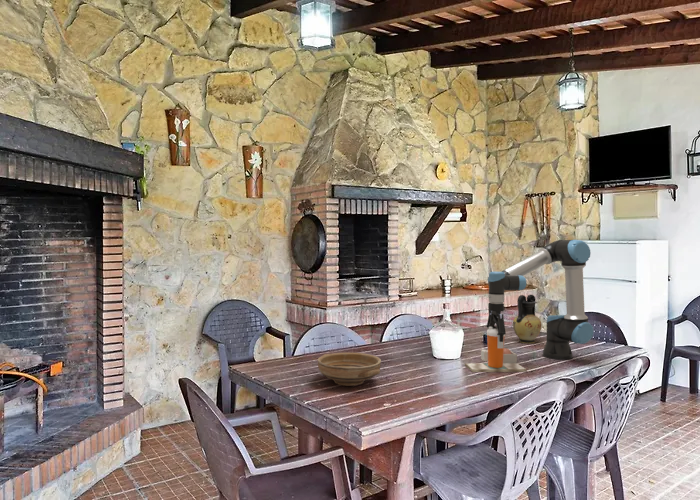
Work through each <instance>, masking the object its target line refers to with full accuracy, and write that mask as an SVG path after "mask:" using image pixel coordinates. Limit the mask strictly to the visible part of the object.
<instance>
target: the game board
mask: <svg viewBox="0 0 700 500" xmlns="http://www.w3.org/2000/svg"><path fill="white" fill-rule="evenodd" d="M464 366H465V367H466V368H467V369H468V370H469V371H470V370H471V371H470V372H472V373H524V372H525V373H526V372H528V371H527V368H526V367H524V366H522V365H521V364H519V363H518V362H517V363H503V367H501V368H493V367H489V366H488V362H486V363H479V362H478V363H477V362H476V363H470V362H469V363H466V362H465V363H464Z"/></svg>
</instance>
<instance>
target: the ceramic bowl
mask: <svg viewBox="0 0 700 500" xmlns="http://www.w3.org/2000/svg"><path fill="white" fill-rule="evenodd" d="M316 360H317V366H318V370H319V372H320V373H321V375H323V376H324V377H326V378H327V379H329V380H333V382H334V383H335V384H337V385H339V386H345V387H347V386H349V387H350V386H351V387H352V386H353V387H355V386H359V385H362V384H364V381H368V380H370V379H372V378H374V377H375V376H377V375H379V374H380V373H381V370H380V369H381V366H382V365H381V362H382V359H381V358H380V357H379V356H376V355H373V354H369V353H364V352H334V353H333V352H332V353H324V354H322V355H321V356H319V357H318V358H317V359H316Z"/></svg>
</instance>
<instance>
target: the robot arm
mask: <svg viewBox="0 0 700 500" xmlns="http://www.w3.org/2000/svg"><path fill="white" fill-rule="evenodd" d="M590 257H591V249H590V246H589V245H588V243H587V242H585V241H583V240H580V239H558V240H555V241H551V242H549V243H548V244H545V245H544V246H543V247H541V248H539V249H538V251H537V252H534V253H533V254H531V255H530V256H528V257H526V258H524V259H522V260H520V261H518V262H516V263H514V264H513V265H511V266H509V267H507V268H505V269H503V270H501V271H490V272H489V273H488V278H487V282H488V296H487V298H488V305H487V306H488V307H487V308H488V309H487V310H488V317H487V323H486V328H487V330H488V329H489V326H490V325H492V326H497V330H498V334H497V335H498V346H497V348H505V340H504V334H505V335H506V333H507V332H506V326H505V320H504V319H505V318H504V317H505V316H504V313H501V312H504V311H505V292H506V291H523V290H525V289H526V287H527V278H526V277H525V276H526V275H527V274H529V273H532V272H533V271H535V270H537V269H539V268H540V267H542V266H544V265H550V264H552V263H555V262H561V267H562V268H563V269H564V278H565V281H564V282H565V300H566V301H565V303H566V305H565V306H566V314H555V315H553V314H552V315H548V316H547V318H546V341H545V344H544V348H543V351H542V356H543V357H544V358H548V359H554V360H562V361H563V360H564V361H565V360H572V359H573V351H572V349H571V346H570V342H572V343H574V344H580V345H585V344H587V343H589V342H590V340H591V339H592V338H593V336H594V332H595V331H594V327H593V325H592V324H591V323H590V322H589V316H587V315H586V312H585V311H586V310H585V291H584V268H585V267H586V265H587V263H586V262H588V261H589V258H590Z"/></svg>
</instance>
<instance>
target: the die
mask: <svg viewBox="0 0 700 500" xmlns="http://www.w3.org/2000/svg"><path fill="white" fill-rule="evenodd" d="M480 360H482V361H484V362H488V349H481V351H480Z"/></svg>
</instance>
